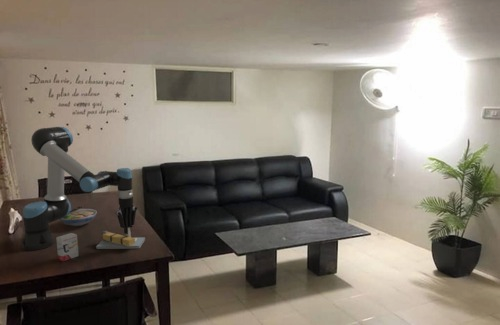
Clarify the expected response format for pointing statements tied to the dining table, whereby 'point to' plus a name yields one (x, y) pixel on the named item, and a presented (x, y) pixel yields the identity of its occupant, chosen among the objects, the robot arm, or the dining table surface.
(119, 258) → the dining table surface
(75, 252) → the ink box
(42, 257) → the dining table surface
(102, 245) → the power panel
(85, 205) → the dining table surface
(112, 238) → the banded tan post
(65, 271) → the dining table surface
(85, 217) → the ramen bowl
